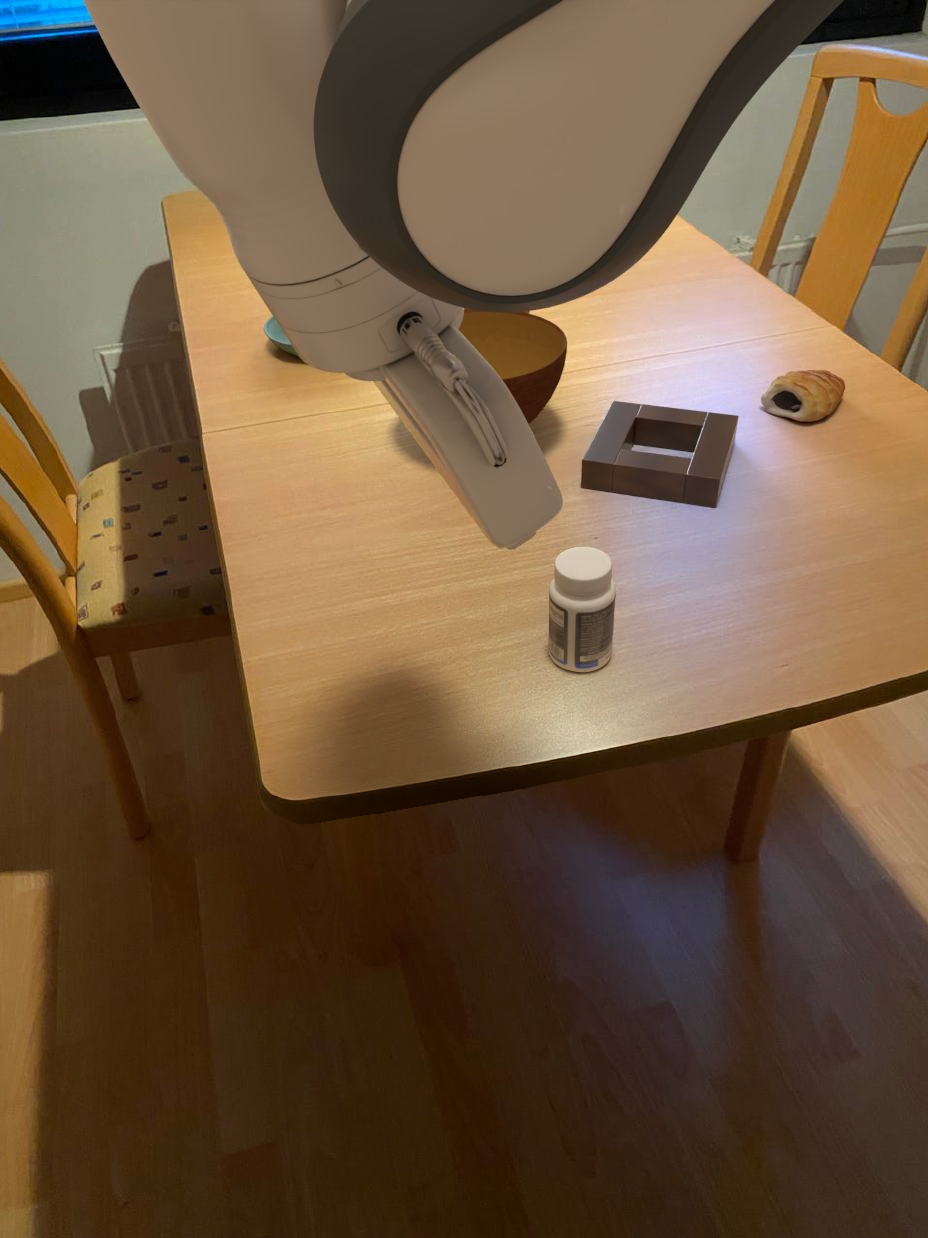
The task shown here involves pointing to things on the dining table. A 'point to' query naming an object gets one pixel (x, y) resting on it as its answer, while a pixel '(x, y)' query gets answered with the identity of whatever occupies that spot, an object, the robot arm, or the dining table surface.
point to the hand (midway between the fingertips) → (478, 483)
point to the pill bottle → (581, 609)
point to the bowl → (519, 353)
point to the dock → (656, 473)
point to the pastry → (804, 395)
